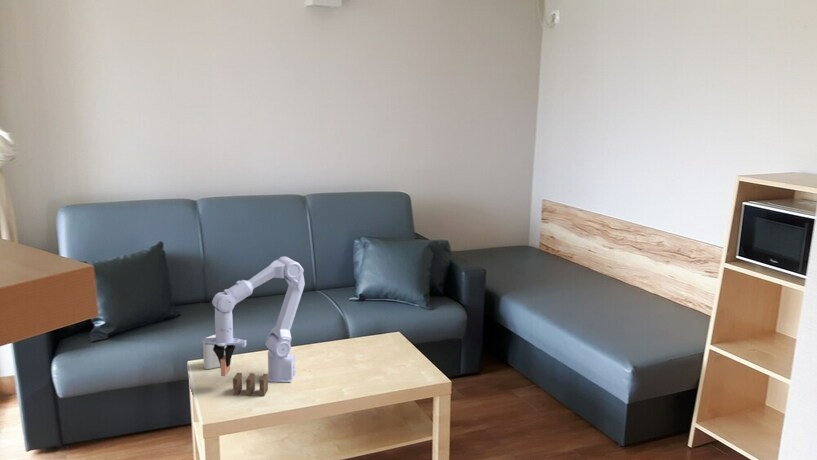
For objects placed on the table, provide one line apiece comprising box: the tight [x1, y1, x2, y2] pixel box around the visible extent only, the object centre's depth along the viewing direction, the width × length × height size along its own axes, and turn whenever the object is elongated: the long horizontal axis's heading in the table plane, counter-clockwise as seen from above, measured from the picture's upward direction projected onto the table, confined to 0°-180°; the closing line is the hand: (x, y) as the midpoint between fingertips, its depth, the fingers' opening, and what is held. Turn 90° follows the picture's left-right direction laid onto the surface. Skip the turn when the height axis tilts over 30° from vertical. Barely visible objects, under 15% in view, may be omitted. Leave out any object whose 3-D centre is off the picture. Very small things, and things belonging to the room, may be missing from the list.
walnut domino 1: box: [232, 372, 243, 396], centre depth 212 cm, size 2×5×6 cm, turn 178°
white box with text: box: [202, 334, 232, 370], centre depth 231 cm, size 10×4×12 cm, turn 123°
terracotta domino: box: [220, 355, 231, 377], centre depth 212 cm, size 2×5×6 cm, turn 178°
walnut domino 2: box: [245, 372, 256, 397], centre depth 211 cm, size 2×5×6 cm, turn 178°
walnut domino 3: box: [258, 373, 269, 397], centre depth 211 cm, size 2×5×6 cm, turn 178°
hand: (225, 365), depth 212 cm, fingers closed on terracotta domino, 1 cm apart
